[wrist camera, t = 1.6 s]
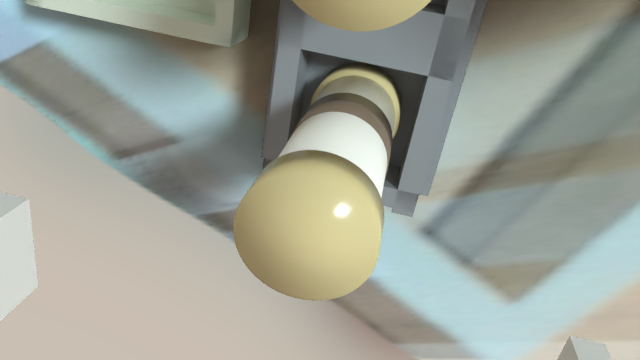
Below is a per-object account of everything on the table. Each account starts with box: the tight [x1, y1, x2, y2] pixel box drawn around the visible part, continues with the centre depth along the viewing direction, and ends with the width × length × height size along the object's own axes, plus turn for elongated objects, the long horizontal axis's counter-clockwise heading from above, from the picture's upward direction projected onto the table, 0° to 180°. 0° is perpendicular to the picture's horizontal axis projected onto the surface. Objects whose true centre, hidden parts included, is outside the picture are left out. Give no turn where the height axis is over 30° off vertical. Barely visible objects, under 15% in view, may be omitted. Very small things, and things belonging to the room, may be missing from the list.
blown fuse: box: [233, 62, 402, 300], centre depth 20 cm, size 4×4×12 cm
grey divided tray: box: [261, 0, 487, 217], centre depth 22 cm, size 16×9×3 cm, turn 171°
